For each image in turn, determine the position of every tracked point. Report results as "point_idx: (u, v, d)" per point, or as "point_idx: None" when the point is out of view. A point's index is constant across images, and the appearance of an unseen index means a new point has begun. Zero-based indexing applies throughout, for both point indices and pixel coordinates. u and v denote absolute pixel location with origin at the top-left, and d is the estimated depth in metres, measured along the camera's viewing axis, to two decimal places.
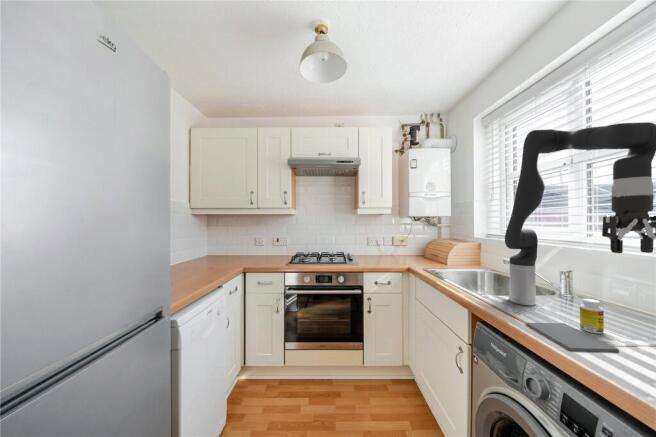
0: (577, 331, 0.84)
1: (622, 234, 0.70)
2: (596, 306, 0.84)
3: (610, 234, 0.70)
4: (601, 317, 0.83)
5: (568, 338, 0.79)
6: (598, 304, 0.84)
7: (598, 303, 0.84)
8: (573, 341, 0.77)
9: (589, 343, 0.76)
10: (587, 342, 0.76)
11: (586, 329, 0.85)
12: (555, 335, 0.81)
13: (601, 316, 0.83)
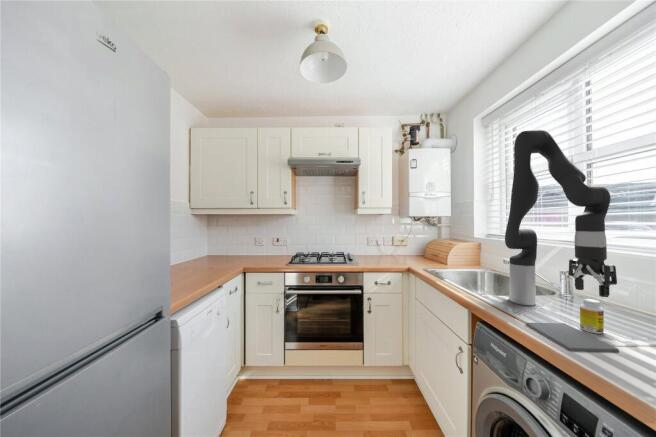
0: (577, 331, 0.84)
1: None
2: (596, 306, 0.84)
3: (615, 282, 0.79)
4: (601, 317, 0.83)
5: (568, 338, 0.79)
6: (598, 304, 0.84)
7: (598, 303, 0.84)
8: (573, 341, 0.77)
9: (589, 343, 0.76)
10: (587, 342, 0.76)
11: (586, 329, 0.85)
12: (555, 335, 0.81)
13: (601, 316, 0.83)
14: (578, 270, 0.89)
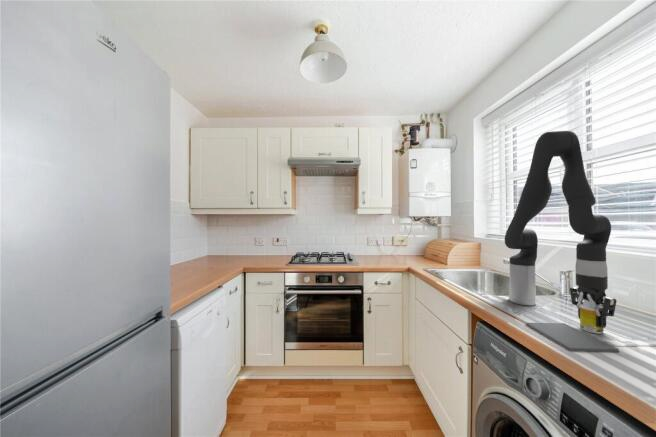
0: (577, 331, 0.84)
1: None
2: None
3: (612, 314, 0.80)
4: None
5: (568, 338, 0.79)
6: None
7: None
8: (573, 341, 0.77)
9: (589, 343, 0.76)
10: (587, 342, 0.76)
11: (586, 329, 0.85)
12: (555, 335, 0.81)
13: None
14: (580, 299, 0.88)
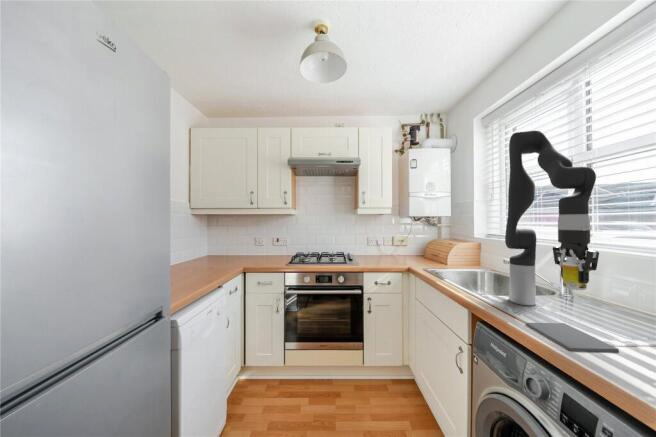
0: (577, 331, 0.84)
1: None
2: None
3: (595, 267, 0.77)
4: None
5: (568, 338, 0.79)
6: None
7: None
8: (573, 341, 0.77)
9: (589, 343, 0.76)
10: (587, 342, 0.76)
11: (569, 286, 0.82)
12: (555, 335, 0.81)
13: None
14: (562, 256, 0.85)
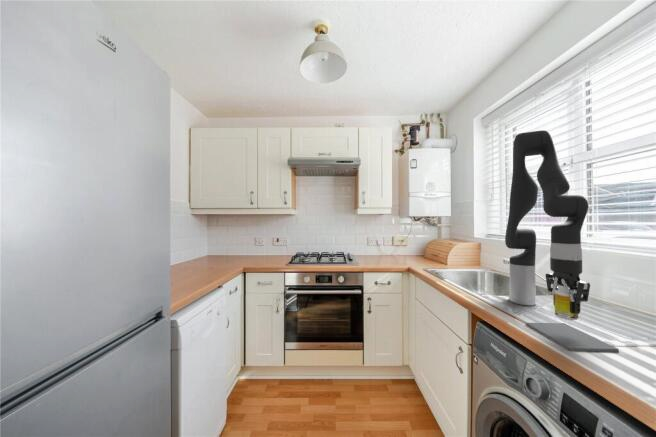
0: (577, 331, 0.84)
1: None
2: None
3: (586, 299, 0.76)
4: None
5: (568, 338, 0.79)
6: None
7: None
8: (573, 341, 0.77)
9: (589, 343, 0.76)
10: (587, 342, 0.76)
11: (560, 316, 0.81)
12: (555, 335, 0.81)
13: None
14: (555, 284, 0.84)
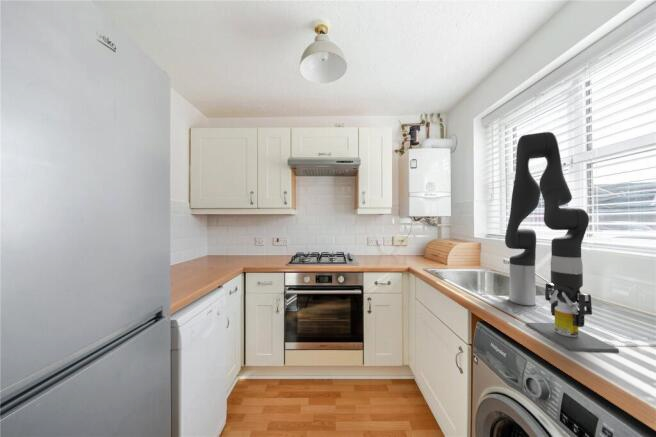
0: None
1: None
2: (570, 309, 0.80)
3: (590, 312, 0.75)
4: None
5: (568, 338, 0.79)
6: None
7: None
8: (573, 341, 0.77)
9: (589, 343, 0.76)
10: (587, 342, 0.76)
11: (560, 332, 0.81)
12: (555, 335, 0.81)
13: None
14: (554, 296, 0.84)
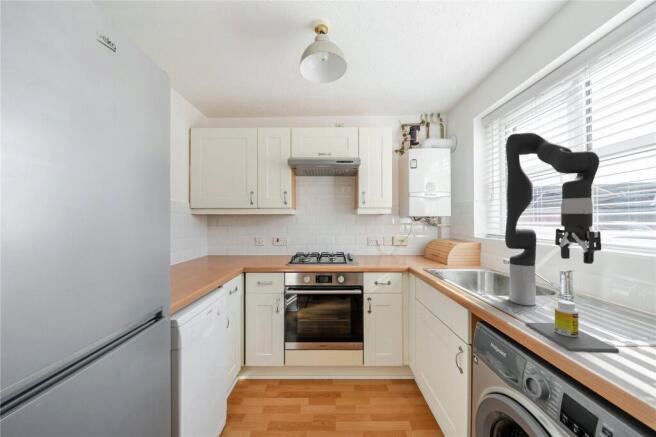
0: None
1: None
2: (570, 309, 0.80)
3: (599, 248, 0.78)
4: (575, 320, 0.79)
5: (568, 338, 0.79)
6: (573, 306, 0.80)
7: (573, 305, 0.80)
8: (573, 341, 0.77)
9: (589, 343, 0.76)
10: (587, 342, 0.76)
11: (560, 332, 0.81)
12: (555, 335, 0.81)
13: (575, 319, 0.79)
14: (564, 238, 0.88)
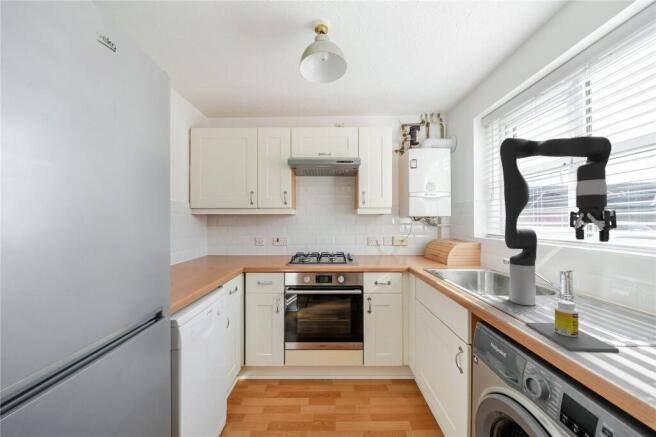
0: None
1: None
2: (570, 309, 0.80)
3: (615, 226, 0.82)
4: (575, 320, 0.79)
5: (568, 338, 0.79)
6: (573, 306, 0.80)
7: (573, 305, 0.80)
8: (573, 341, 0.77)
9: (589, 343, 0.76)
10: (587, 342, 0.76)
11: (560, 332, 0.81)
12: (555, 335, 0.81)
13: (575, 319, 0.79)
14: (579, 220, 0.92)
